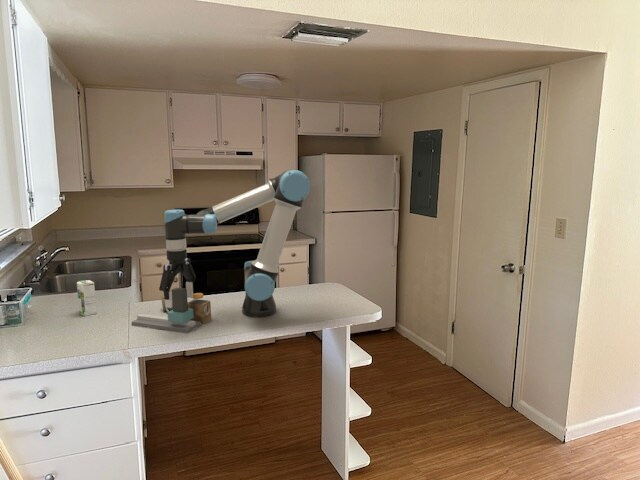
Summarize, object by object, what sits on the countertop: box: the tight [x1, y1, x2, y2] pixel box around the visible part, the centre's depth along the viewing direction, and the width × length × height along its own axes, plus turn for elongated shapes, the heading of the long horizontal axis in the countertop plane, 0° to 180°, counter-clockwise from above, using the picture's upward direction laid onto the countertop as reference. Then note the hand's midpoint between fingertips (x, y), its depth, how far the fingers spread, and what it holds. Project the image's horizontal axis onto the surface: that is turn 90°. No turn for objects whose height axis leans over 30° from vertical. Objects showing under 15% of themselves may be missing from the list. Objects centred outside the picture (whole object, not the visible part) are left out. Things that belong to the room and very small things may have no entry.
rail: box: [131, 313, 202, 334], centre depth 180 cm, size 27×9×3 cm, turn 70°
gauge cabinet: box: [188, 299, 212, 325], centre depth 185 cm, size 9×6×8 cm
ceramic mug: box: [161, 294, 173, 313], centre depth 198 cm, size 11×8×8 cm
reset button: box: [192, 292, 204, 300], centre depth 184 cm, size 4×4×1 cm
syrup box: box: [76, 279, 98, 317], centre depth 194 cm, size 6×6×14 cm
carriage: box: [167, 287, 194, 324], centre depth 176 cm, size 7×7×13 cm
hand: (179, 302), depth 176 cm, fingers open, 13 cm apart
